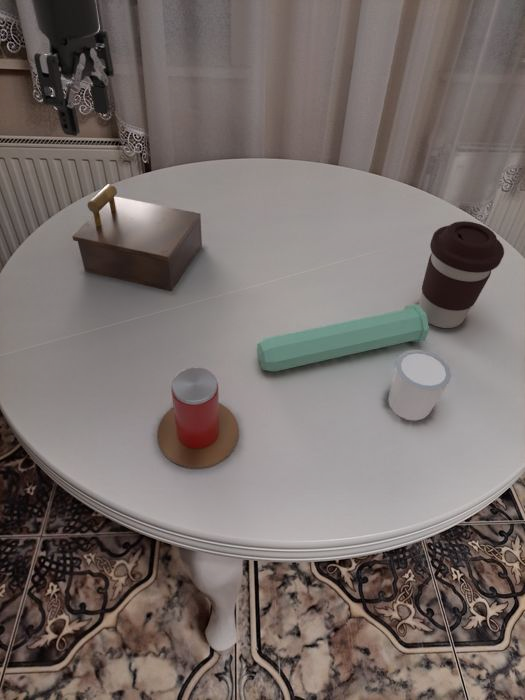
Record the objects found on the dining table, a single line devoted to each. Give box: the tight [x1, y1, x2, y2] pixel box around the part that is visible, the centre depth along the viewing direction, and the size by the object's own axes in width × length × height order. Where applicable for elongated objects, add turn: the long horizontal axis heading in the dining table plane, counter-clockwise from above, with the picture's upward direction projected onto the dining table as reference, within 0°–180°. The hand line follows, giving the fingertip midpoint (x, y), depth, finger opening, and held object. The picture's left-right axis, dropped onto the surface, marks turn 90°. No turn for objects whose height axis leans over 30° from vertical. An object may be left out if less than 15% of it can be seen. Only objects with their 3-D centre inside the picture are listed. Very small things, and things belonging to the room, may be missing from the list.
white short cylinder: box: [387, 349, 452, 422], centre depth 66 cm, size 7×7×7 cm
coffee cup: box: [418, 220, 505, 329], centre depth 76 cm, size 10×10×15 cm
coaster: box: [156, 403, 240, 470], centre depth 63 cm, size 10×10×1 cm
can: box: [171, 366, 220, 449], centre depth 60 cm, size 5×5×9 cm
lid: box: [71, 183, 202, 261], centre depth 82 cm, size 16×14×5 cm
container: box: [256, 303, 430, 372], centre depth 73 cm, size 6×6×25 cm
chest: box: [77, 217, 203, 292], centre depth 86 cm, size 16×14×6 cm
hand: (88, 122), depth 73 cm, fingers open, 8 cm apart
